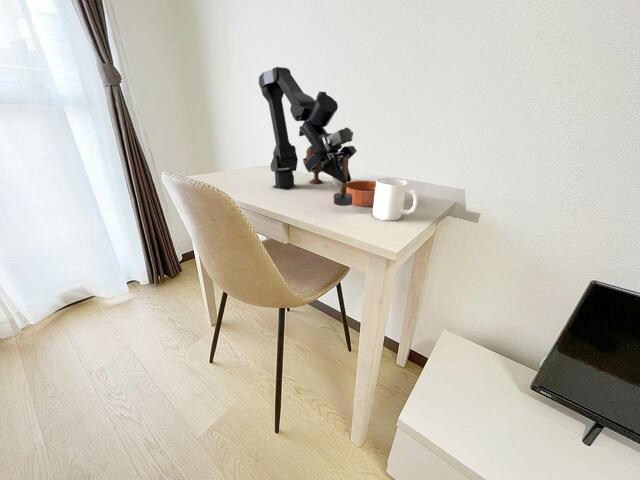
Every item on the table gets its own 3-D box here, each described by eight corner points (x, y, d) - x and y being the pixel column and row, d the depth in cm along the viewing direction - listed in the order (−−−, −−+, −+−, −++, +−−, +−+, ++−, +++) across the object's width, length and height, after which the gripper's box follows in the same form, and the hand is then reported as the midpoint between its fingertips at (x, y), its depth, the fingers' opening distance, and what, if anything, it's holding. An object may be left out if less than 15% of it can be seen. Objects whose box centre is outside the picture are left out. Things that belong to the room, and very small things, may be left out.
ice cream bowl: (329, 186, 103) (330, 146, 97) (301, 185, 104) (301, 146, 97) (329, 179, 113) (330, 143, 106) (303, 179, 113) (303, 142, 106)
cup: (378, 208, 81) (383, 176, 76) (417, 217, 75) (424, 182, 70) (367, 216, 75) (371, 182, 70) (409, 226, 69) (416, 189, 64)
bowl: (336, 202, 85) (337, 188, 83) (351, 191, 97) (352, 178, 94) (379, 210, 80) (381, 194, 77) (389, 197, 91) (392, 183, 89)
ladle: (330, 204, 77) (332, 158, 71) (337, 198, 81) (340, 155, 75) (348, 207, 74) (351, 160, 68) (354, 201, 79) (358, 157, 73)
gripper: (313, 117, 63) (349, 170, 62) (353, 116, 76) (383, 159, 75) (291, 148, 70) (322, 195, 70) (330, 142, 84) (357, 182, 83)
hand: (348, 182), depth 74 cm, fingers closed on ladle
